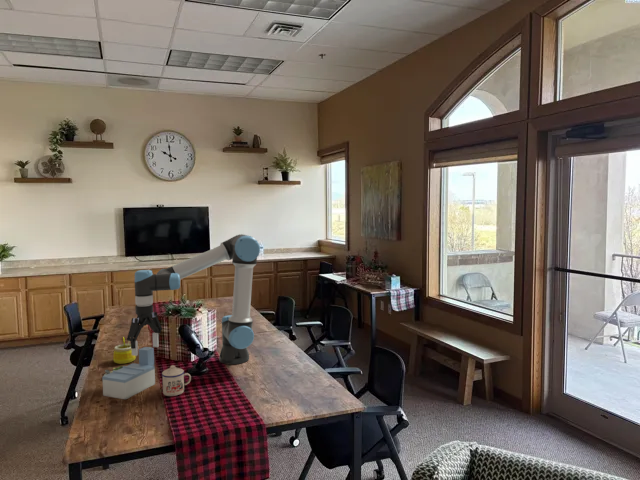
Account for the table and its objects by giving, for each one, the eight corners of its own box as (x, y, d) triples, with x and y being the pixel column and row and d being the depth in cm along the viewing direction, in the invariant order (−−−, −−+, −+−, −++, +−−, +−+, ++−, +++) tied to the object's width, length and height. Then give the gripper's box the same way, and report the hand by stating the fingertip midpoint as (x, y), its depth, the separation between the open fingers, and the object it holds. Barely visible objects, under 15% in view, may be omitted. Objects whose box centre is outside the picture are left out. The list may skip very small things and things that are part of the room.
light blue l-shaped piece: (160, 367, 221) (159, 348, 221) (125, 384, 201) (124, 363, 200) (139, 364, 226) (138, 346, 225) (102, 381, 205) (101, 360, 204)
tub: (155, 384, 218) (154, 368, 217) (125, 399, 201) (124, 382, 201) (133, 380, 222) (133, 365, 222) (103, 395, 206) (102, 379, 205)
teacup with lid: (164, 398, 202) (163, 370, 201) (160, 390, 210) (159, 364, 209) (193, 392, 208) (192, 365, 207) (188, 385, 216) (187, 359, 215)
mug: (128, 365, 243) (127, 342, 242) (108, 364, 245) (107, 341, 245) (142, 357, 256) (141, 335, 255) (123, 356, 258) (122, 334, 257)
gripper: (156, 298, 232) (157, 342, 234) (116, 309, 209) (118, 358, 211) (169, 300, 229) (170, 344, 231) (130, 311, 206) (132, 360, 208)
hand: (145, 351), depth 221 cm, fingers open, 13 cm apart
